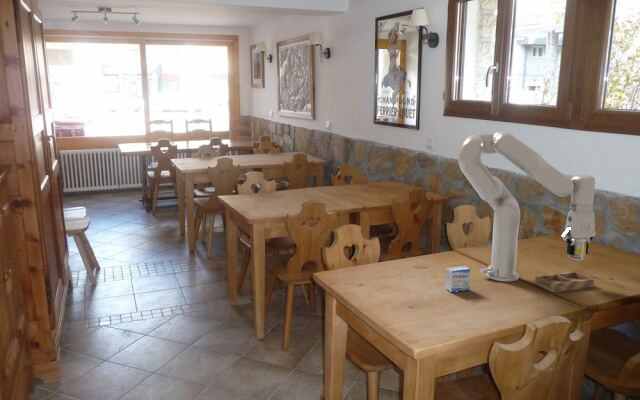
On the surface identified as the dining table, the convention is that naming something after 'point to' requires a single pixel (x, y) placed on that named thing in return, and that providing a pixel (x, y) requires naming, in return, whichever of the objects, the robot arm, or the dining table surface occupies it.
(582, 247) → the supplement bottle
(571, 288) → the divided well tray
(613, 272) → the dining table surface
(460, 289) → the medicine box
